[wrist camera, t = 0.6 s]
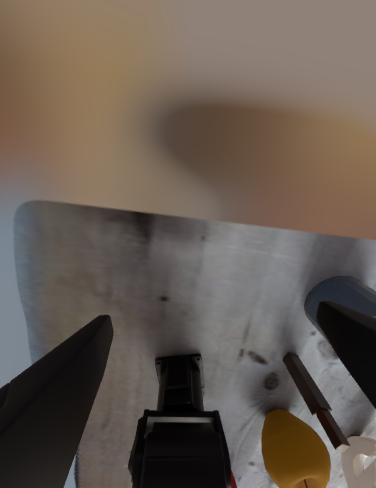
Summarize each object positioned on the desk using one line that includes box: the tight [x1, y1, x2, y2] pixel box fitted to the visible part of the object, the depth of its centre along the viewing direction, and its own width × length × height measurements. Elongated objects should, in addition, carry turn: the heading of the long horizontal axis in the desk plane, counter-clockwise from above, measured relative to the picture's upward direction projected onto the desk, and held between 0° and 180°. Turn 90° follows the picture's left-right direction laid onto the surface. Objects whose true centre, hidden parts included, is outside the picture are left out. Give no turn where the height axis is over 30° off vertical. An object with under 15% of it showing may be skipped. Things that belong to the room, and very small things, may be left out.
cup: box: [305, 276, 376, 345], centre depth 23 cm, size 8×8×6 cm
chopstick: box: [283, 352, 350, 452], centre depth 24 cm, size 2×2×10 cm
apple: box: [261, 409, 331, 488], centre depth 29 cm, size 9×9×9 cm
